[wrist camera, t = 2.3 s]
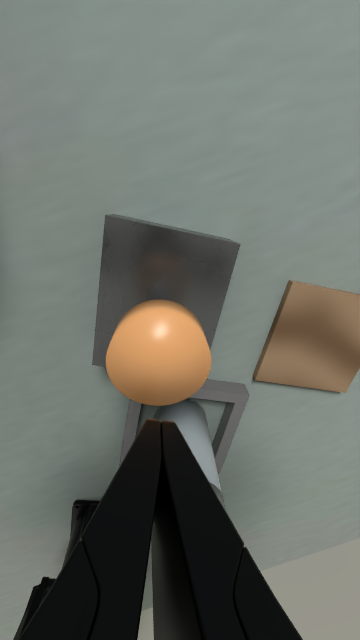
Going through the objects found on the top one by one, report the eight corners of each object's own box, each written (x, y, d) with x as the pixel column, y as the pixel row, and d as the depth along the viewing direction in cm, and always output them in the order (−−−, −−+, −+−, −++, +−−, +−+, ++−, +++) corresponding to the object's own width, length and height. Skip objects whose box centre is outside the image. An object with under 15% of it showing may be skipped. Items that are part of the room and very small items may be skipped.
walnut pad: (341, 388, 24) (345, 392, 24) (252, 376, 23) (255, 380, 22) (390, 300, 21) (396, 302, 20) (289, 280, 20) (292, 282, 19)
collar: (216, 460, 27) (219, 473, 26) (121, 451, 26) (119, 465, 24) (244, 384, 23) (249, 395, 22) (134, 369, 22) (133, 380, 20)
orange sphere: (188, 359, 16) (197, 410, 12) (117, 349, 15) (101, 399, 11) (205, 293, 14) (223, 326, 10) (126, 278, 14) (111, 307, 10)
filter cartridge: (199, 440, 26) (216, 549, 17) (150, 435, 25) (143, 546, 17) (211, 402, 24) (237, 503, 16) (158, 395, 23) (156, 498, 15)
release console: (196, 358, 22) (201, 379, 19) (101, 344, 21) (92, 364, 18) (228, 238, 18) (240, 244, 15) (114, 214, 17) (105, 214, 14)
